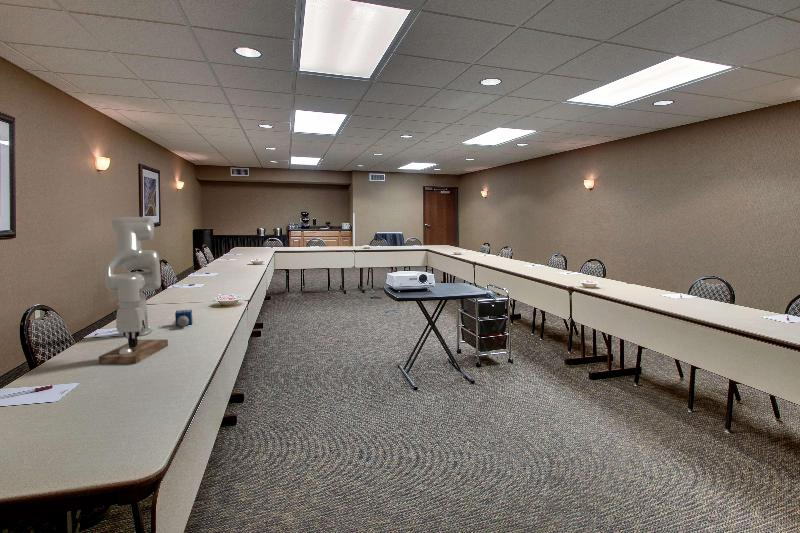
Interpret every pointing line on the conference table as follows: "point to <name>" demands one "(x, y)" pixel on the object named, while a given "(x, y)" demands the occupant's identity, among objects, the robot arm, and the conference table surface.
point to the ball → (125, 351)
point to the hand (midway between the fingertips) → (133, 346)
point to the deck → (139, 352)
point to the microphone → (183, 318)
